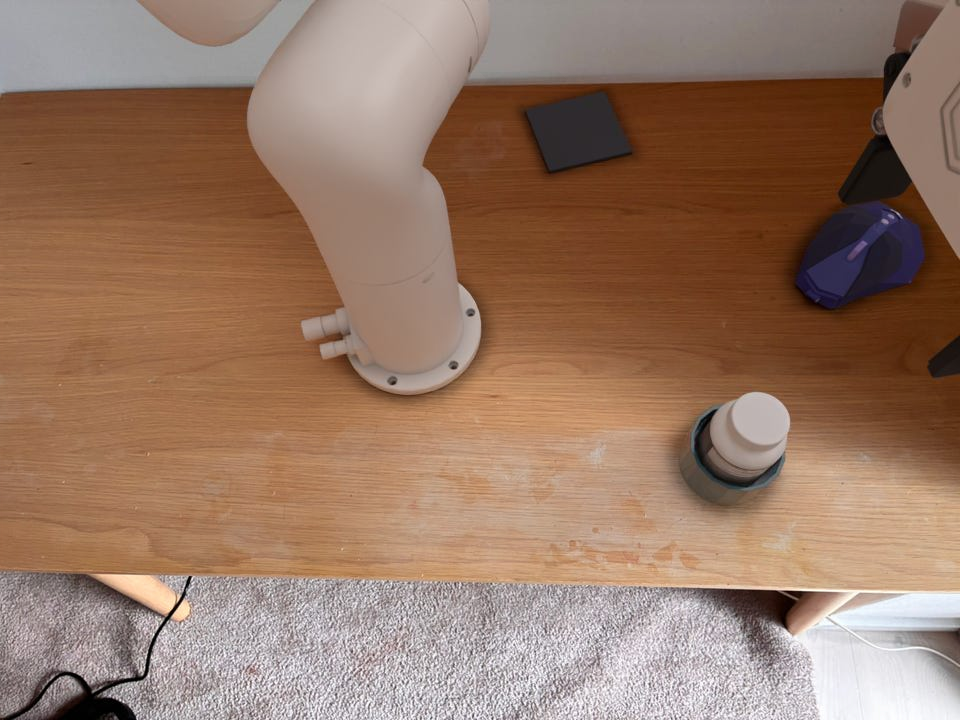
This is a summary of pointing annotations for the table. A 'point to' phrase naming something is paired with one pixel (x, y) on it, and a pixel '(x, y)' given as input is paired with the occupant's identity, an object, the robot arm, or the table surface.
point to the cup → (706, 482)
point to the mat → (577, 132)
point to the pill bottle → (744, 438)
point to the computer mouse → (860, 255)
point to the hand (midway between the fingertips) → (911, 275)
